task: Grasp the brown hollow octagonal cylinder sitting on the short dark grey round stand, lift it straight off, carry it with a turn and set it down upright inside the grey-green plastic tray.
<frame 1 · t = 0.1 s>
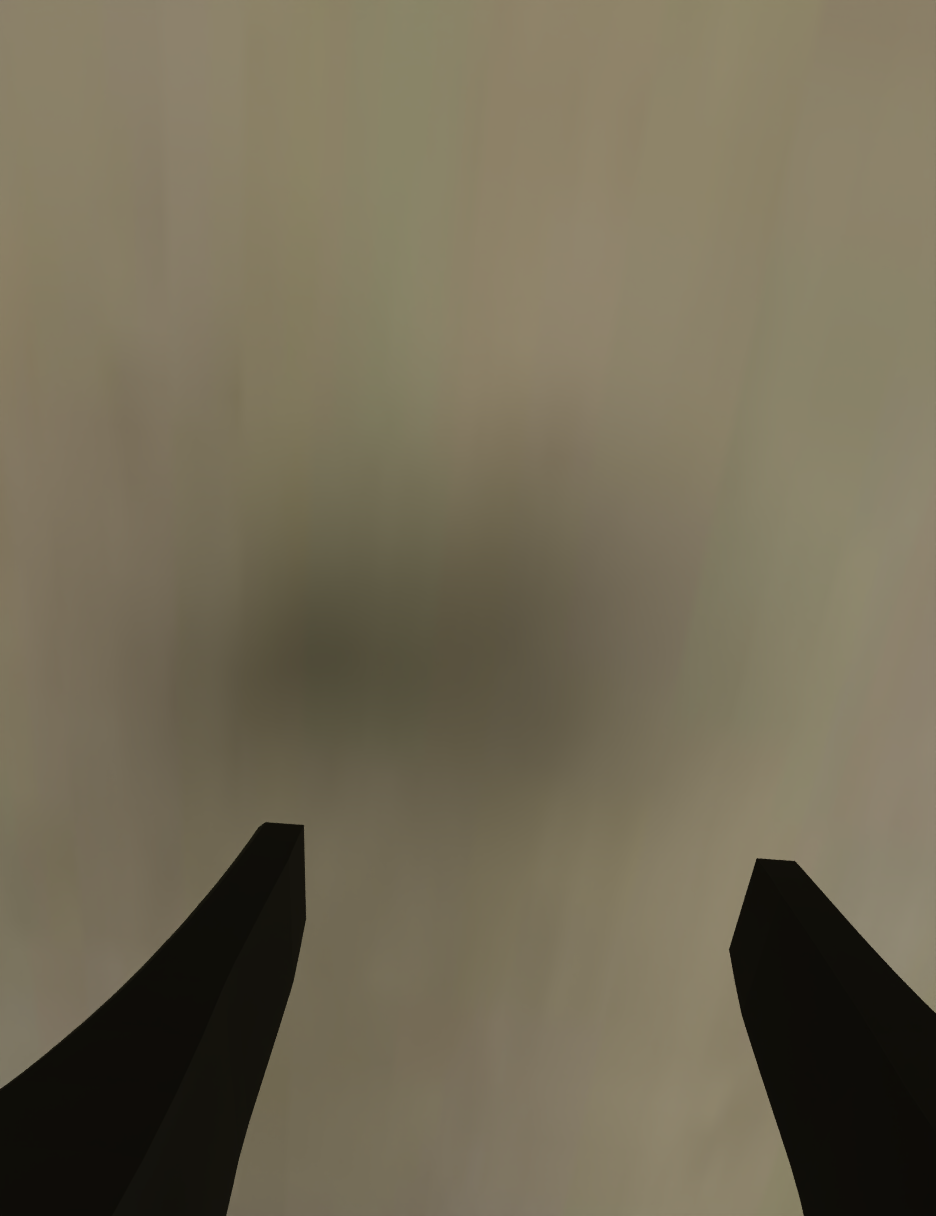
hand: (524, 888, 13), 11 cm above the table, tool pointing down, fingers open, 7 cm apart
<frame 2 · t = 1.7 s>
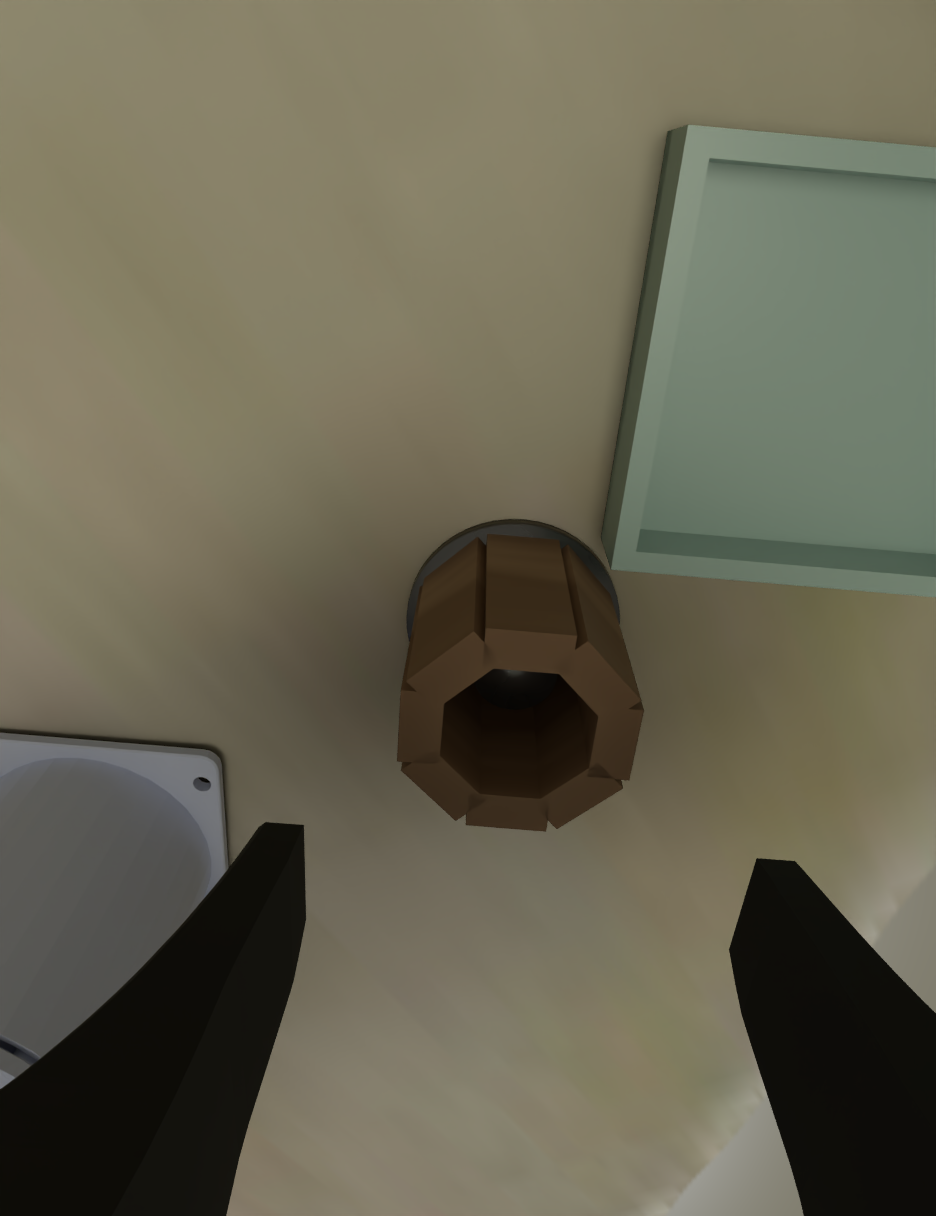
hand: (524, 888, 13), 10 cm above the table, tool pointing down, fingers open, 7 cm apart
dark grey round stand: (512, 617, 22), on the table
brown hollow octagonal cylinder: (512, 624, 22), resting on dark grey round stand
tray: (824, 373, 19), on the table
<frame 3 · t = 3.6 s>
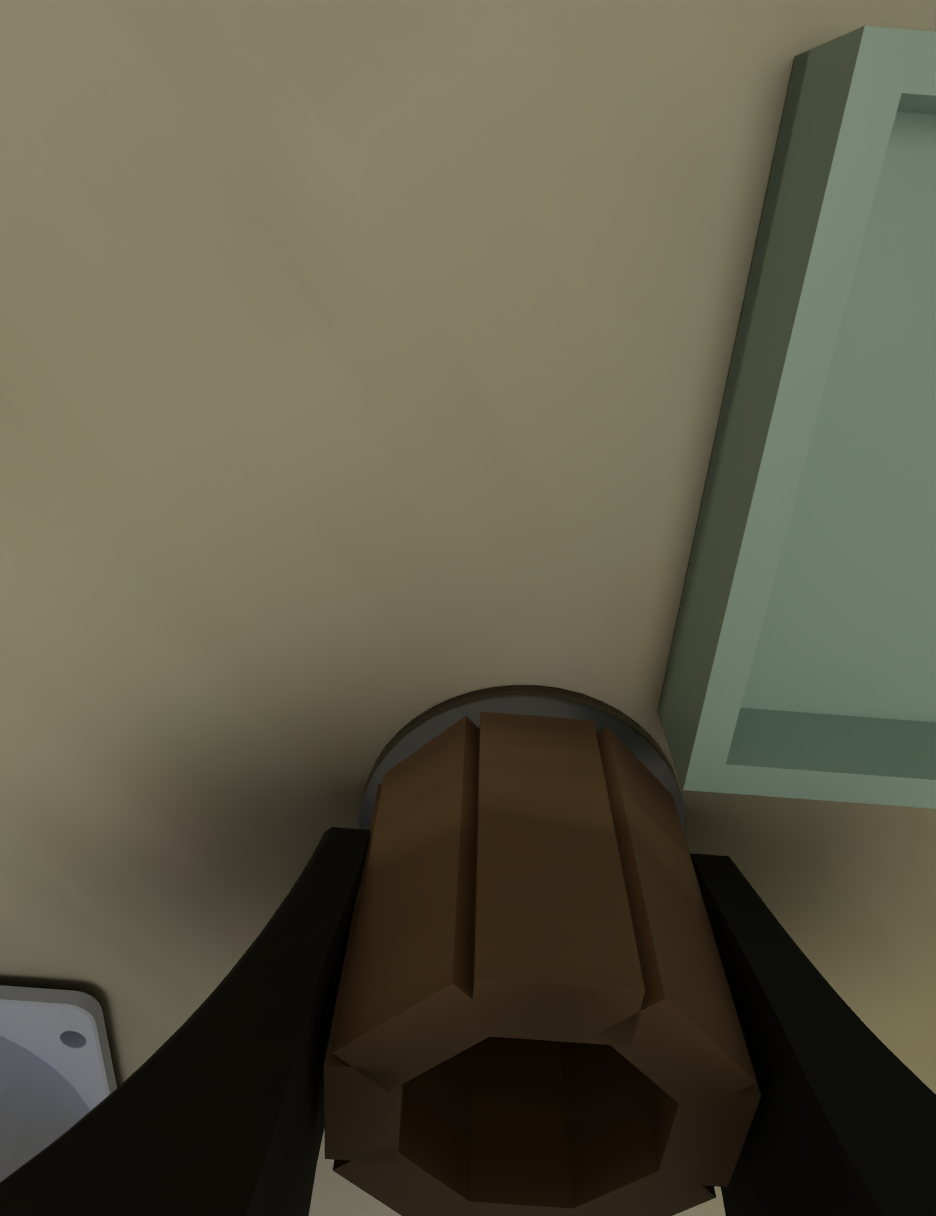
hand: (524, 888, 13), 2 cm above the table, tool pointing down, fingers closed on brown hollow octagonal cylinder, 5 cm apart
dark grey round stand: (520, 820, 15), on the table
brown hollow octagonal cylinder: (521, 836, 14), resting on dark grey round stand, touching gripper
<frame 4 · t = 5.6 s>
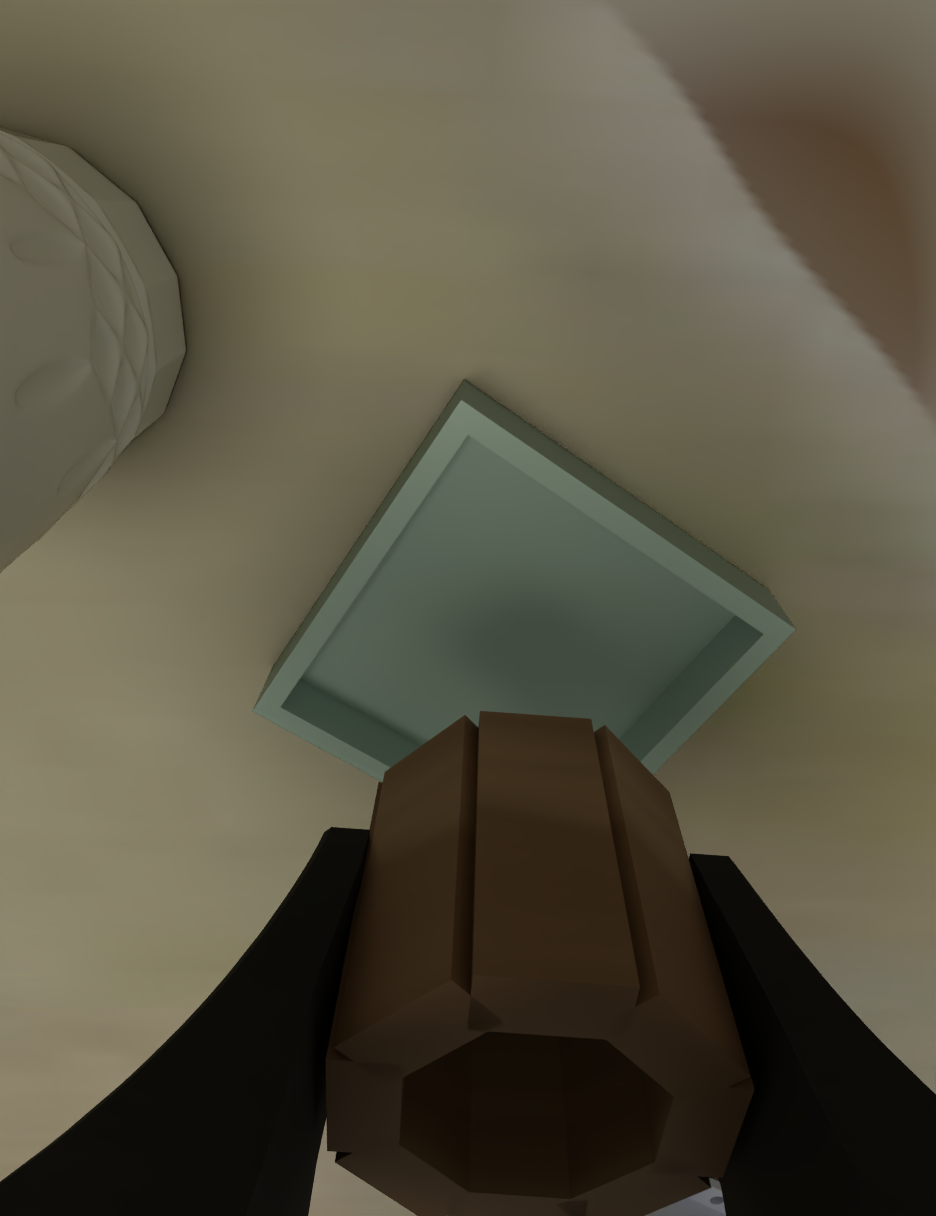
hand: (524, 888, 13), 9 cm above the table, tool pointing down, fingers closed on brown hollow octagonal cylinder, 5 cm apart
white cup: (36, 306, 18), on the table
brown hollow octagonal cylinder: (520, 833, 15), point 7 cm above the table, touching gripper
tray: (512, 630, 21), on the table
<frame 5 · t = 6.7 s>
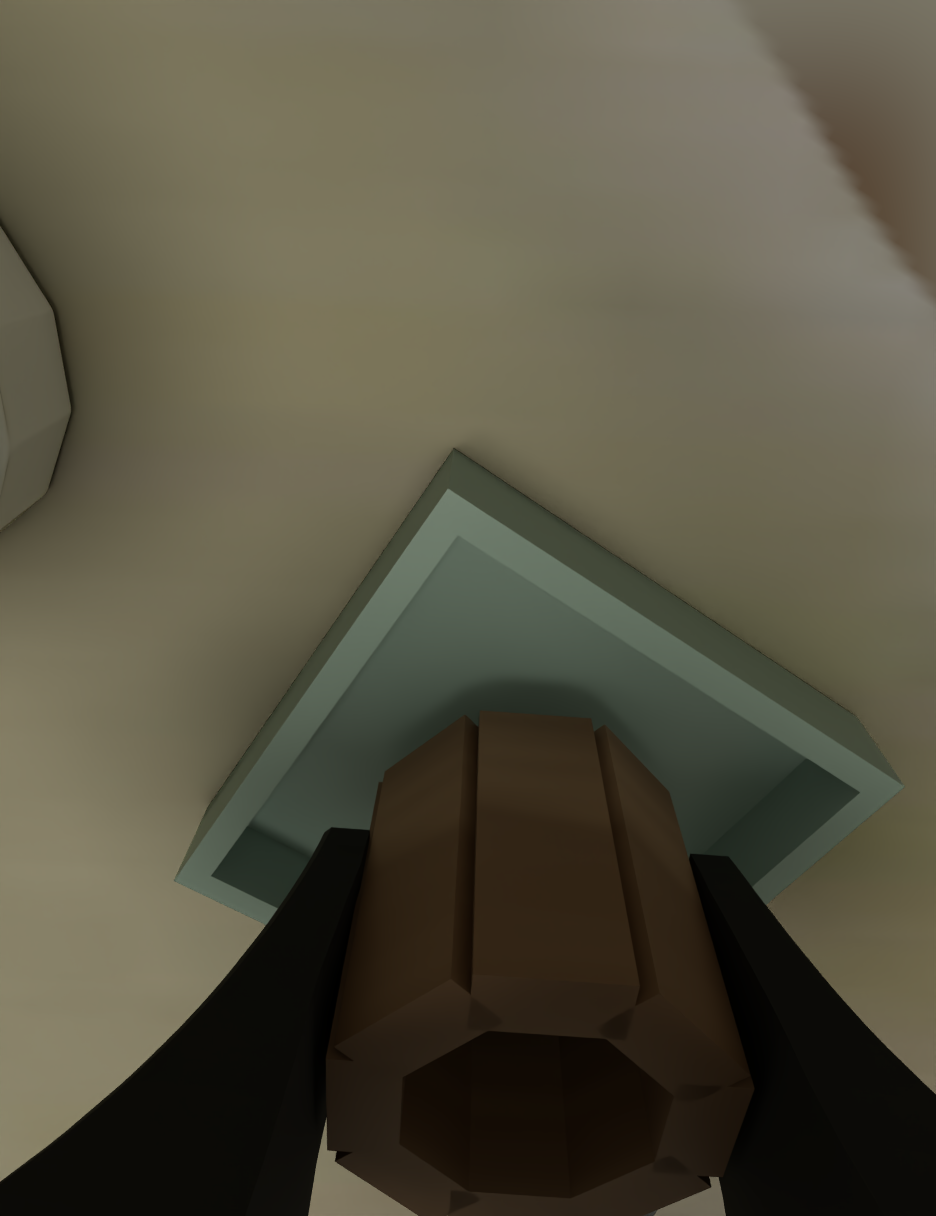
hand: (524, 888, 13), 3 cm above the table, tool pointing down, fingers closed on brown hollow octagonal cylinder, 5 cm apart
brown hollow octagonal cylinder: (520, 832, 15), point 2 cm above the table, touching gripper
tray: (518, 764, 16), on the table
when the fingers open (3 cm above the table, at t = 7.5 s): brown hollow octagonal cylinder drops 1 cm, resting on tray.
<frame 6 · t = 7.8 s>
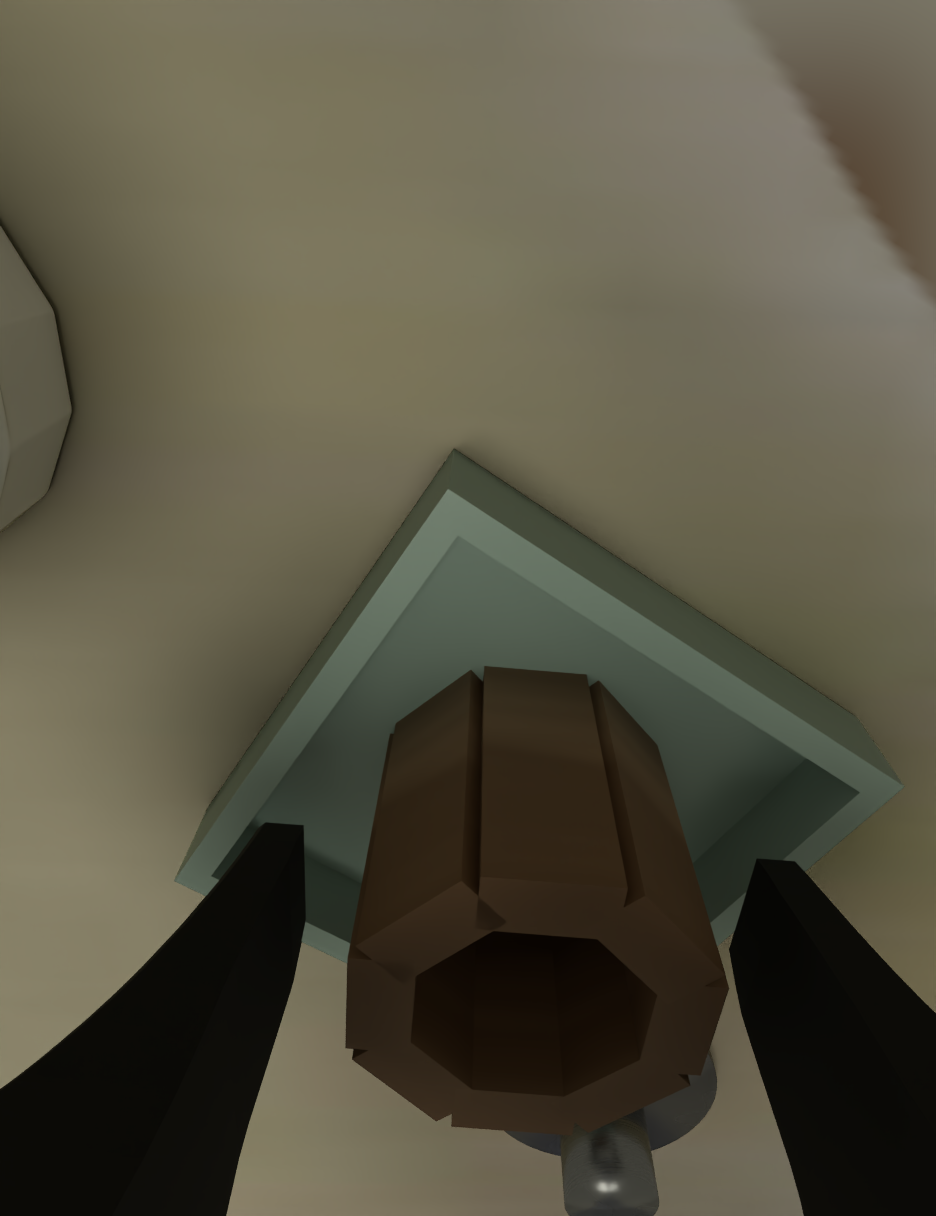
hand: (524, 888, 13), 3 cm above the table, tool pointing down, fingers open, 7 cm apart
dark grey round stand: (596, 1074, 20), on the table
brown hollow octagonal cylinder: (520, 783, 16), resting on tray
tray: (518, 764, 16), on the table
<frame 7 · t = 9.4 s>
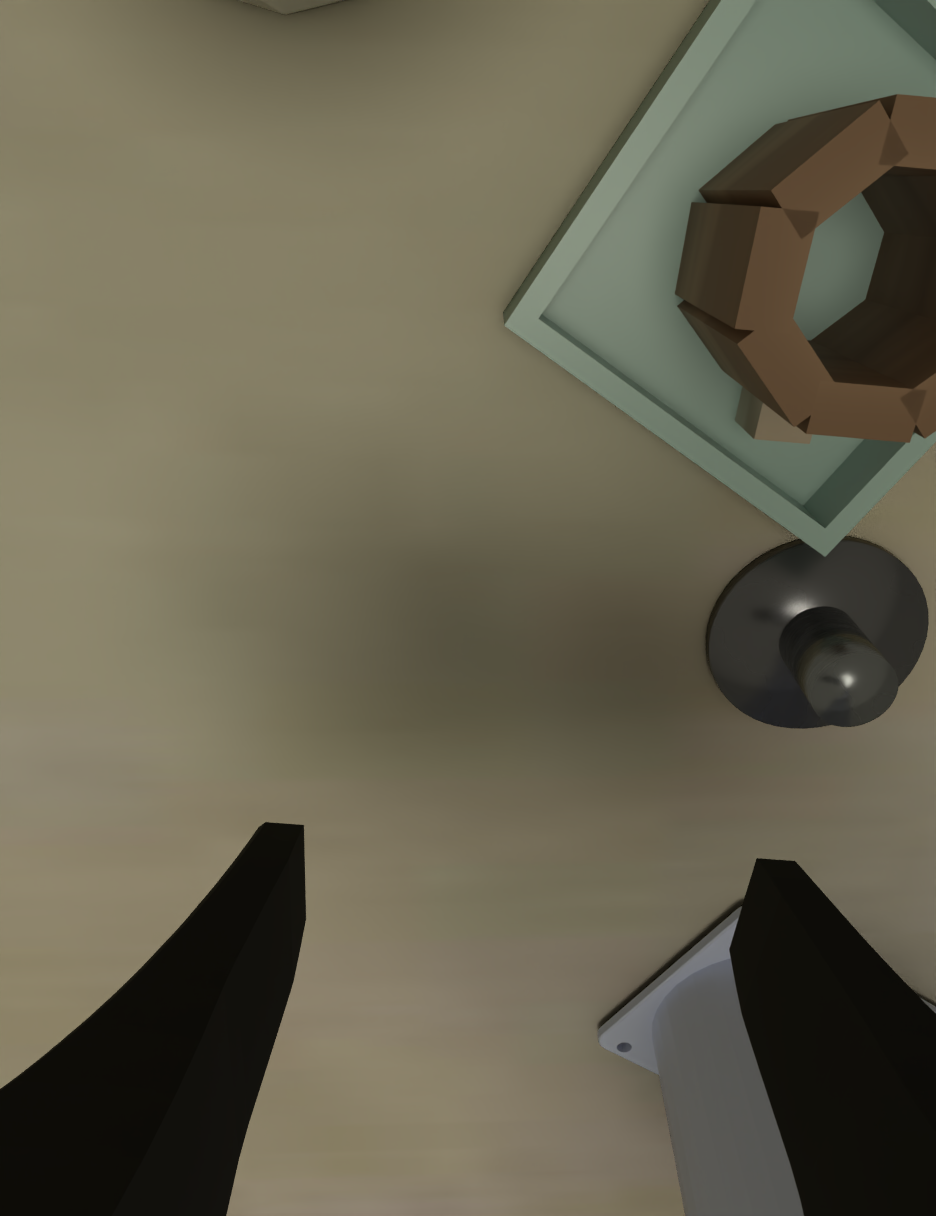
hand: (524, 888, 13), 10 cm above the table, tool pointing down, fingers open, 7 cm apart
dark grey round stand: (812, 633, 22), on the table
brown hollow octagonal cylinder: (799, 259, 18), resting on tray
tray: (791, 255, 18), on the table
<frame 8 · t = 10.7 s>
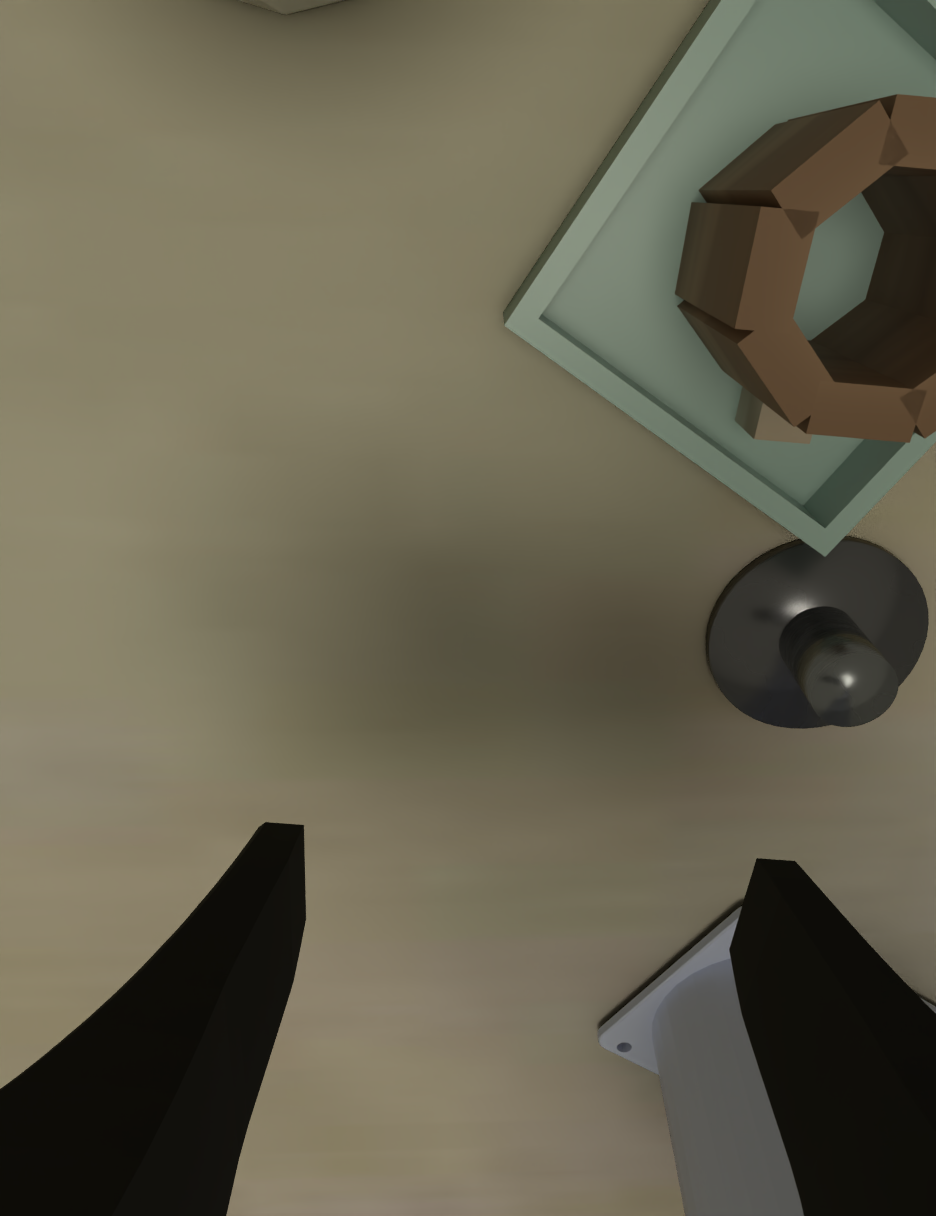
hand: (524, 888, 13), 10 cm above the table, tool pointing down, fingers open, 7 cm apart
dark grey round stand: (812, 633, 22), on the table
brown hollow octagonal cylinder: (799, 259, 18), resting on tray
tray: (791, 255, 18), on the table
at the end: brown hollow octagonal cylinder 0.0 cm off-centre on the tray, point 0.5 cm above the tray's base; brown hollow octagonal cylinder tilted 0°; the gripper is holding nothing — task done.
